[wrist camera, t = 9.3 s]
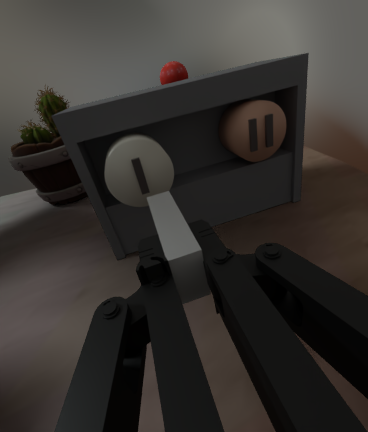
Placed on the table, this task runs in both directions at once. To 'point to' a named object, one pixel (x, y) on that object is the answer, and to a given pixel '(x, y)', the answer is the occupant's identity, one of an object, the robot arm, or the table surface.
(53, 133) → the flowerpot
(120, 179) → the button one
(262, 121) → the button two
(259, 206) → the console
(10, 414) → the table surface
